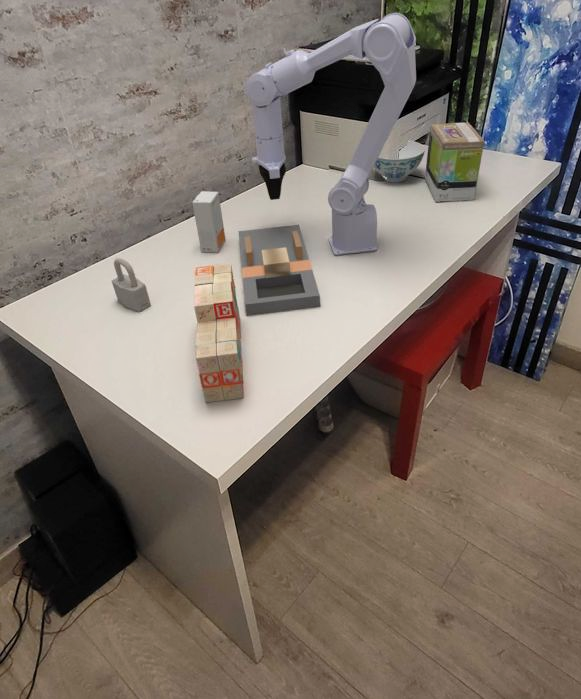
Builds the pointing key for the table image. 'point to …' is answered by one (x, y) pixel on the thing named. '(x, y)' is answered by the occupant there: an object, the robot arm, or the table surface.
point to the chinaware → (401, 162)
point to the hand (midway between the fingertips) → (274, 198)
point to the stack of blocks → (218, 333)
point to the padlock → (129, 287)
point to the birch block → (276, 262)
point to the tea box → (453, 161)
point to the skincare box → (209, 221)
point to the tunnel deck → (276, 290)
